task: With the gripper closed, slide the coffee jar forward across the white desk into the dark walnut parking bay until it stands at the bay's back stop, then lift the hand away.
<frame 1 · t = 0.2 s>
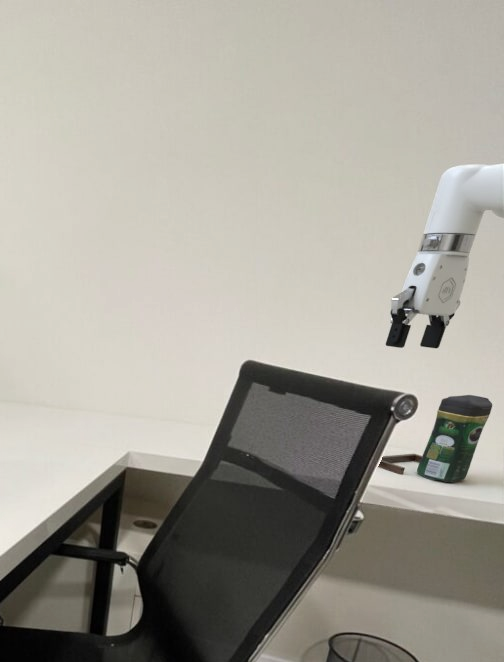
hand: (411, 347, 103), 29 cm above the table, tool pointing down, fingers open, 9 cm apart
coffee jar: (438, 477, 125), on the table
walnut bay: (406, 466, 131), on the table
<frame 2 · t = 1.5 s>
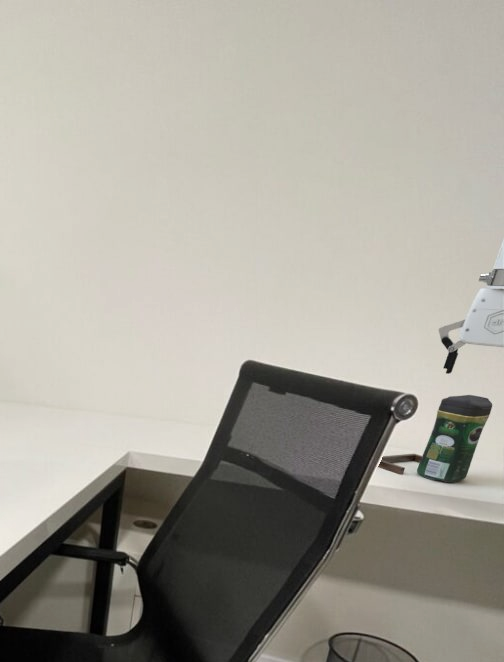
hand: (479, 376, 106), 24 cm above the table, tool pointing down, fingers open, 9 cm apart
nothing on the table moved.
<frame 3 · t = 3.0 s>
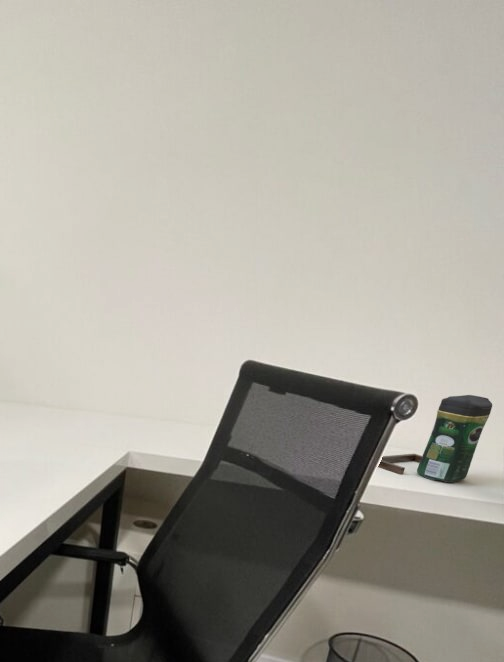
nothing on the table moved.
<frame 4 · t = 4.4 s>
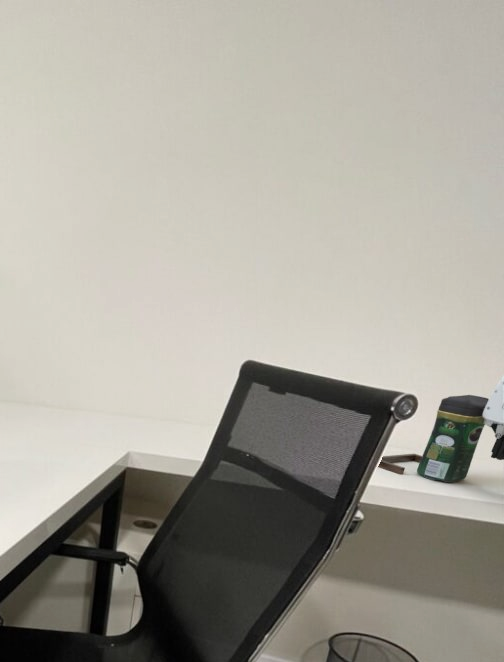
hand: (499, 458, 114), 8 cm above the table, tool pointing down, fingers closed
nothing on the table moved.
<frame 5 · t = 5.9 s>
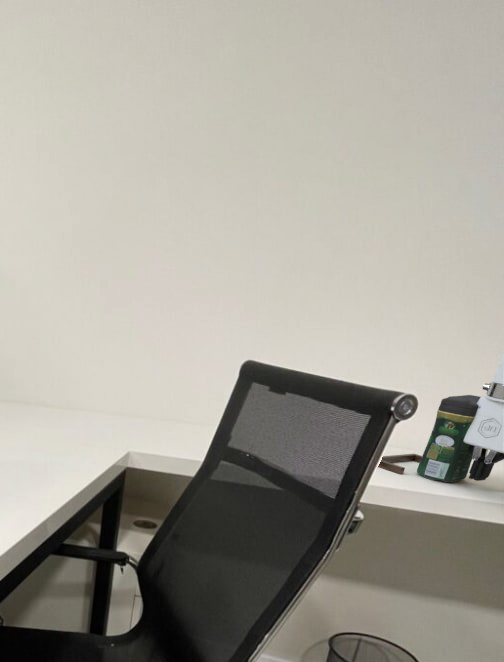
hand: (476, 479, 118), 2 cm above the table, tool pointing down, fingers closed
coffee jar: (438, 477, 125), on the table, touching gripper
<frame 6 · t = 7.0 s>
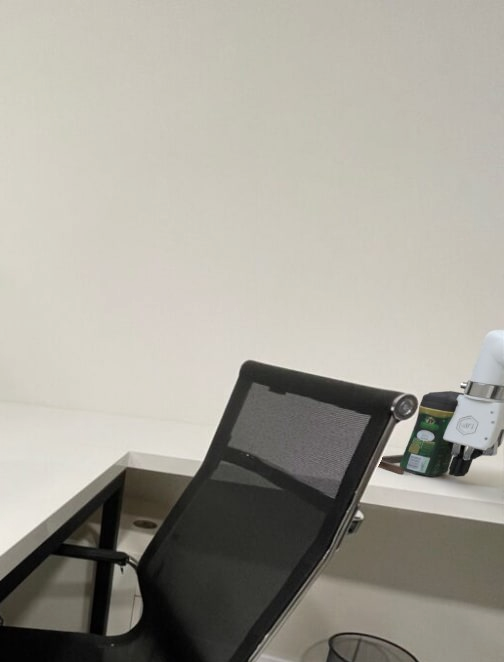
hand: (456, 475, 121), 2 cm above the table, tool pointing down, fingers closed
coffee jar: (421, 472, 128), on the table, touching gripper
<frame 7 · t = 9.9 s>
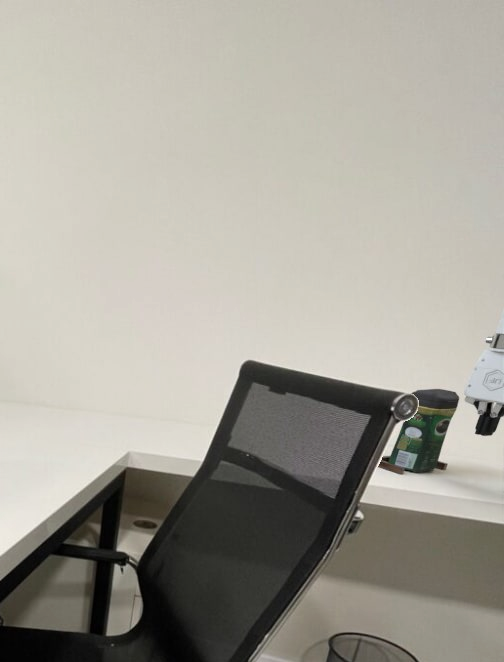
hand: (483, 434, 116), 11 cm above the table, tool pointing down, fingers closed
coffee jar: (409, 468, 131), on the table, touching walnut bay
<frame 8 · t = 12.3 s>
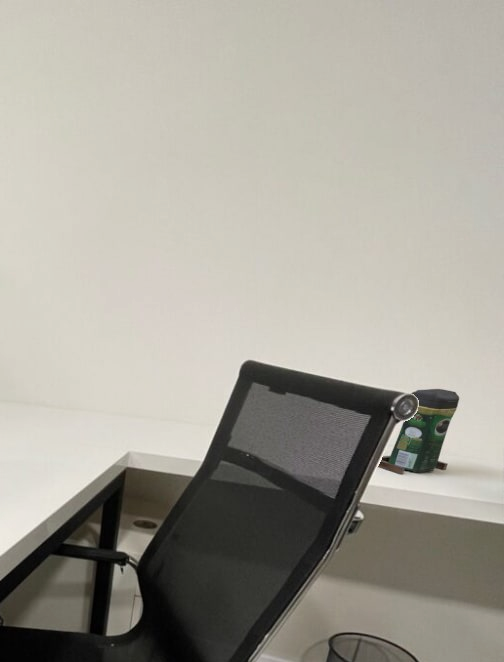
nothing on the table moved.
at the end: coffee jar 0.5 cm from the target spot, on the table; coffee jar tilted 0°; coffee jar moved 6.7 cm from its start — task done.
